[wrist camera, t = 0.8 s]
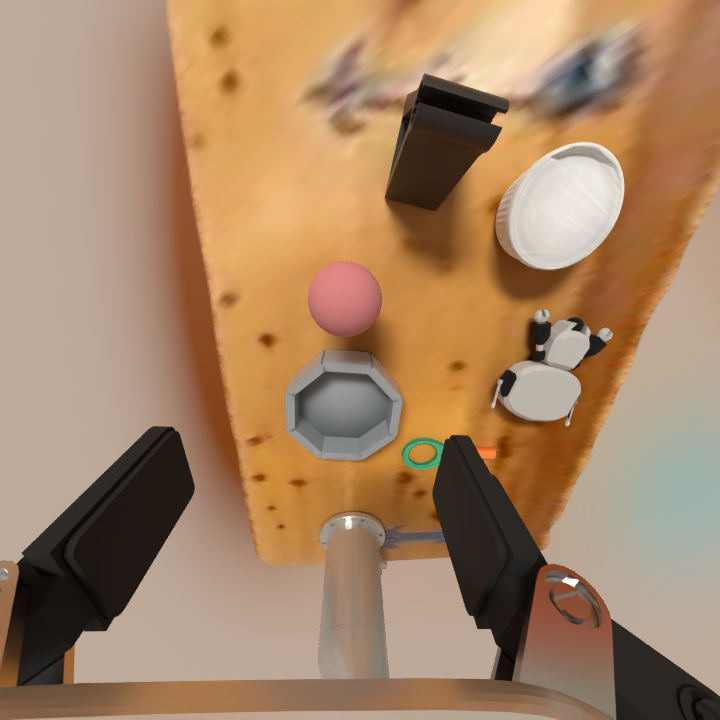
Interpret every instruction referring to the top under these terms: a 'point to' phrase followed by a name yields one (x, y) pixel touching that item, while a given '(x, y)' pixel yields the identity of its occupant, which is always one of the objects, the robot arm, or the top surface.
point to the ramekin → (561, 206)
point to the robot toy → (549, 370)
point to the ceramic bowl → (343, 405)
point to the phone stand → (440, 140)
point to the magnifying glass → (437, 453)
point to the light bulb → (344, 299)
